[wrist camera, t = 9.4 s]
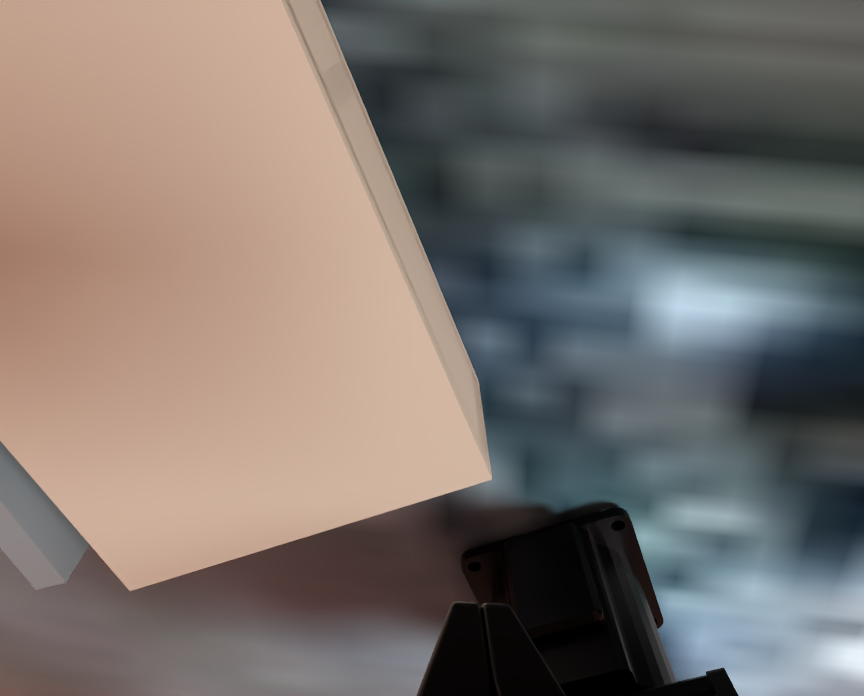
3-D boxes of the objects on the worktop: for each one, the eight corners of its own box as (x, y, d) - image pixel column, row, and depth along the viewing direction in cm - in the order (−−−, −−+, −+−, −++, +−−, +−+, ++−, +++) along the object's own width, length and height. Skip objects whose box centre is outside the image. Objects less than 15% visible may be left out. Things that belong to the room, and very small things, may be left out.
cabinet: (478, 380, 21) (492, 479, 17) (186, 479, 23) (129, 591, 19) (134, -448, 13) (-26, -697, 8) (-293, -187, 14) (-615, -272, 10)
